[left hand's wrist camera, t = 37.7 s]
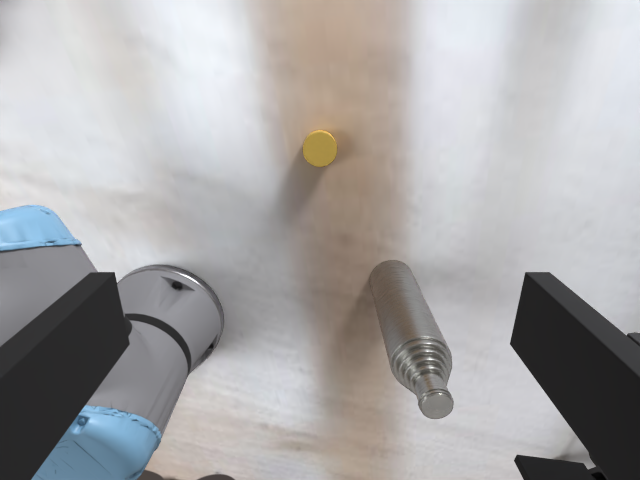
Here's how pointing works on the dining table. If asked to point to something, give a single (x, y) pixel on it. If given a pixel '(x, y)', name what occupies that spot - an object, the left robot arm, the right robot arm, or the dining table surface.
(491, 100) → the dining table surface
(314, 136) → the cap
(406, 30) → the dining table surface
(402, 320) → the bottle
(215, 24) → the dining table surface
